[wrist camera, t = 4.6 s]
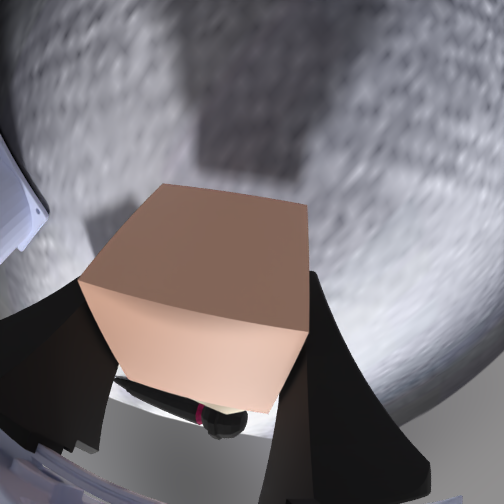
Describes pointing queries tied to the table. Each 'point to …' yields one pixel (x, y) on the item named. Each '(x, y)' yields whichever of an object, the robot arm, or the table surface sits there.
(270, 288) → the peach block
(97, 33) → the table surface
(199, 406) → the microphone
